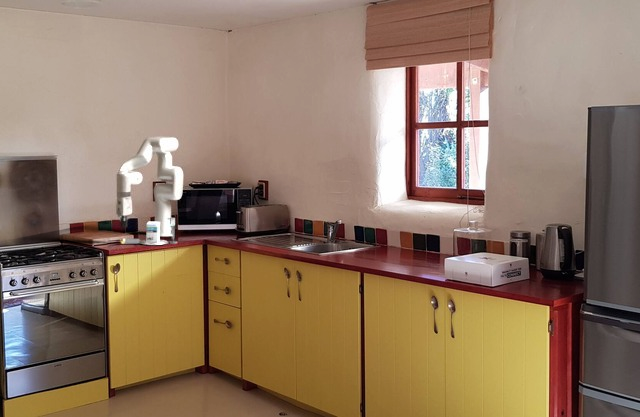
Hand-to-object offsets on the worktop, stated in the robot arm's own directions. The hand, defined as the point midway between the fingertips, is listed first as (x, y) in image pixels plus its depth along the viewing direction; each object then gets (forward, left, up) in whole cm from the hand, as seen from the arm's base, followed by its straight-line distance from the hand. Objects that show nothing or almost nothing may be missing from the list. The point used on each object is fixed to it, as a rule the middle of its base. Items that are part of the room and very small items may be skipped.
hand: (123, 227), depth 418 cm
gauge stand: (-15, +23, -9) cm, 29 cm away
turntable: (-4, +11, -9) cm, 15 cm away
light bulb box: (-8, +14, -8) cm, 18 cm away
